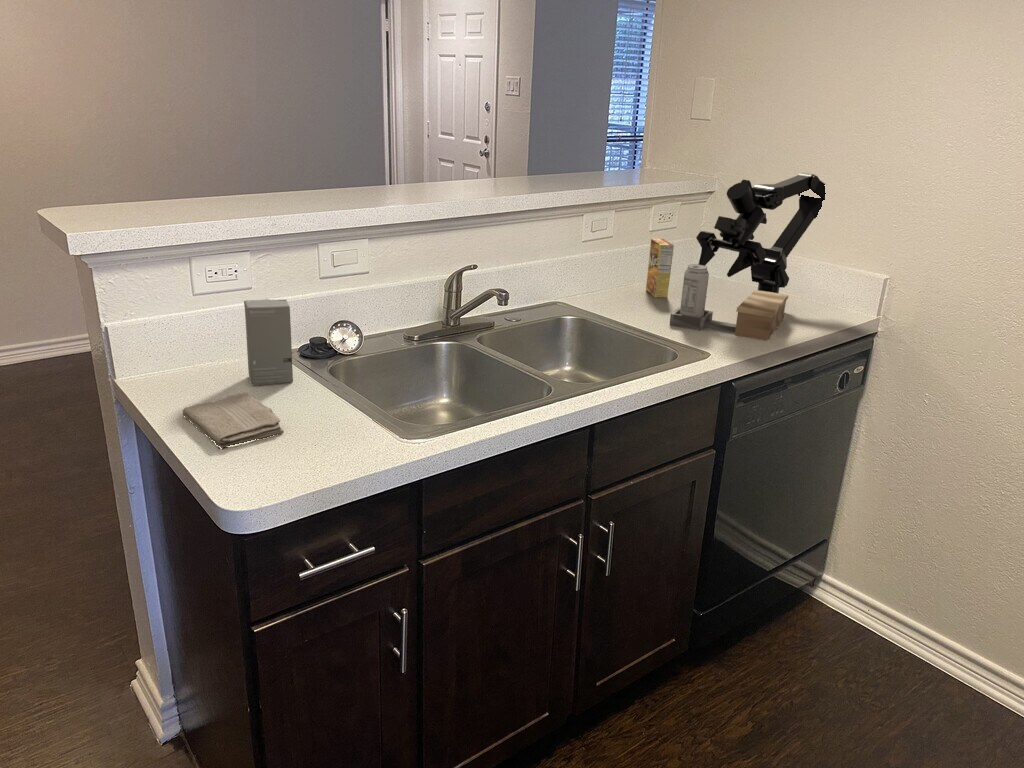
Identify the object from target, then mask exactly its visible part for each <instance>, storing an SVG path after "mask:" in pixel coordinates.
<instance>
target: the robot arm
mask: <svg viewBox="0 0 1024 768" xmlns="http://www.w3.org/2000/svg"><path fill="white" fill-rule="evenodd" d="M825 184H826V183H825V182H823V181H822V180H821V179H820V178H819V177H818V176H817V175H816V174H813V173H806V172H802V173H798V174H797V175H796V176H795V175H794V176H792V177H790V178H787V179H784V180H782V181H779V182H777V183H772V184H771V183H770V184H769V183H763V184H762V183H761V184H755V185H752V182H751V181H750V180H749V179H742V180H741V181H740V182H737V183H735V184H733V185H732V186H730V187H729V188H728V189H727V191H726V197H727V198H728V200H729V203H730V204H731V207H732V208H733V210H734V212H735V213H736V214H738V216H737V217H736V219H735V218H734V219H733V218H731V217H726V216H720V215H718V218H717V219H716V222H715V225H714V227H713V229H715V230H718V231H719V236H720V237H721V238H722V239H720V238H717V236H716V234H715V233H714V232H711V231H705V230H701V231H699V233H698V234H697V235H696V237H695V238H696V240H697V242H698V243H699V245H700V247H701V250H700V252H701V253H700V256H699V260H698V265H704V266H707V264H708V263H710V261H711V260H712V259H713V258H714V257H715V256H716V253H717V252H718V250H719V249H725V250H729V251H732V252H735V253H736V252H737V253H738V256H737V257H736V259H735V260H734V262H733V263H732V265H731V267H730V268H729V270H728V271H727V273H726V277H728V278H731V277H733V276H734V275H737V273H740V272H741V271H743V270H746V269H747V268H750V275H751V282H752V283H753V282H754V283H757V285H758V286H757V290H759V291H766V292H773V293H779V294H780V289H781V288H786V287H787V286H788V284H789V281H790V277H789V275H788V273H787V271H786V269H787V267H788V265H787V264H788V263H787V261H788V260H787V259H788V257H789V255H790V254H791V252H792V251H793V249H794V248H795V247H796V246H797V243H798V242H799V241H800V239H801V238H802V237H803V235H804V234H805V233H806V231H807V230H808V228H809V226H810V225H811V224H812V223H813V221H814V220H815V219H817V218H818V217H817V215H818V212H819V210H820V209H821V207H822V201H823V200H825V194H826V193H825V186H824V185H825ZM809 189H811V190H812V191H813V192H814V193H816V194H817V195H819V196H820V197H821V198H814V197H809V196H804V195H801V197H799V196H800V193H802V192H804V191H807V190H809ZM796 195H797V196H798V197H799V198H798V210H797V211H796V212H795V214H794V215H793V216H792V218H791V220H790V221H789V223H788V224H787V225H786V227H785V228H784V230H782V232H781V234H780V235H779V236H778V238H777V239H776V240H775V242H774V243H773V245H772V246H771V247H770V248H766V247H763V245H762V243H761V242H760V241H758V242H757V241H753V240H754V239H755V236H754V233H755V232H756V230H757V229H758V227H759V226H760V224H763V225H766V224H767V223H768V219H767V213H765V212H764V209H765V210H771V211H772V210H773V211H774V210H775V209H778V207H780V206H782V204H783V202H784V200H786V199H789V198H791V197H793V196H796ZM816 217H817V218H816Z"/></svg>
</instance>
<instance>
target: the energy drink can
mask: <svg viewBox="0 0 1024 768" xmlns="http://www.w3.org/2000/svg"><path fill="white" fill-rule="evenodd" d="M698 264H699V263H698ZM698 264H696V263H695V264H692V263H691V264H687V268H686V269H685V271H684V275H683V283H682V293H681V299H680V300H681V301H680V306H681V308H680V315H686V316H692V317H698V318H702V317H704V310H706V301H707V293H708V286H709V277H710V273H709V270H708V266H707V265H705V266H704V265H698Z"/></svg>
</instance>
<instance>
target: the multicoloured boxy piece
mask: <svg viewBox="0 0 1024 768" xmlns="http://www.w3.org/2000/svg"><path fill="white" fill-rule="evenodd" d="M788 299H789V294H785V293H780V292H779V293H773V292H766V291H759V290H758V289H754V290H753V292H752V293H750V295H748V296H747V297H746V298H745V299H744V300H743V301H742V302H741V303H740V304H739V305H738V306H737V307H736V313H737V315H736V316H737V317H736V323H731V322H726V321H721V320H714V319H713V315H714V311H712V310H707V309H705V310H704V317H702V318H698V317H692V316H686V315H680V308H681V305H680V306H679V307H677V308H676V309H675V310H674V311H672V312H671V313H670V317H669V324H668V325H669V326H671V327H672V326H673V327H678V328H685V329H690V330H695V331H700V332H701V331H702V332H703V331H704V330H706V329H709V330H715V331H720V332H726V333H727V332H728V333H732V334H734V335H735V336H740V337H744V338H750V339H756V340H757V339H758V340H762V341H769V339H770V338H771V337H772V336H773V334H774V333H775V332H774V331H776V330H777V329H778V328H777V327H780V326H781V324H780V323H783V322H784V315H785V310H786V303H787V300H788Z"/></svg>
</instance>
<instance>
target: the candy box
mask: <svg viewBox="0 0 1024 768" xmlns="http://www.w3.org/2000/svg"><path fill="white" fill-rule="evenodd" d="M674 246H675V245H674V244H672V243H671V242H670V241H667V240H666V239H664V238H651V239H650V247H649V255H648V256H649V258H648V266H647V272H646V273H647V275H646V283H645V290H646V291H647V292H648V293H649V294H651V296H653V297H654V298H655V299H657V298H668V295H669V287H670V280H671V273H672V272H671V270H672V264H673V256H674Z"/></svg>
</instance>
